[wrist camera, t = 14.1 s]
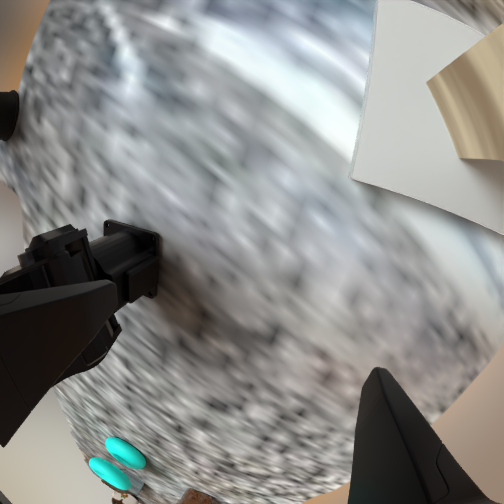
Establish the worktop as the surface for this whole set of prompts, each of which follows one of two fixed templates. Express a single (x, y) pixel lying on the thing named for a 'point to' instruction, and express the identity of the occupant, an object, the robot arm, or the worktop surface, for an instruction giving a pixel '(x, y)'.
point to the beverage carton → (135, 484)
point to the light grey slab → (420, 117)
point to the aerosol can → (8, 113)
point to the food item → (195, 497)
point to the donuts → (123, 455)
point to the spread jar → (123, 498)
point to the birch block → (474, 98)
